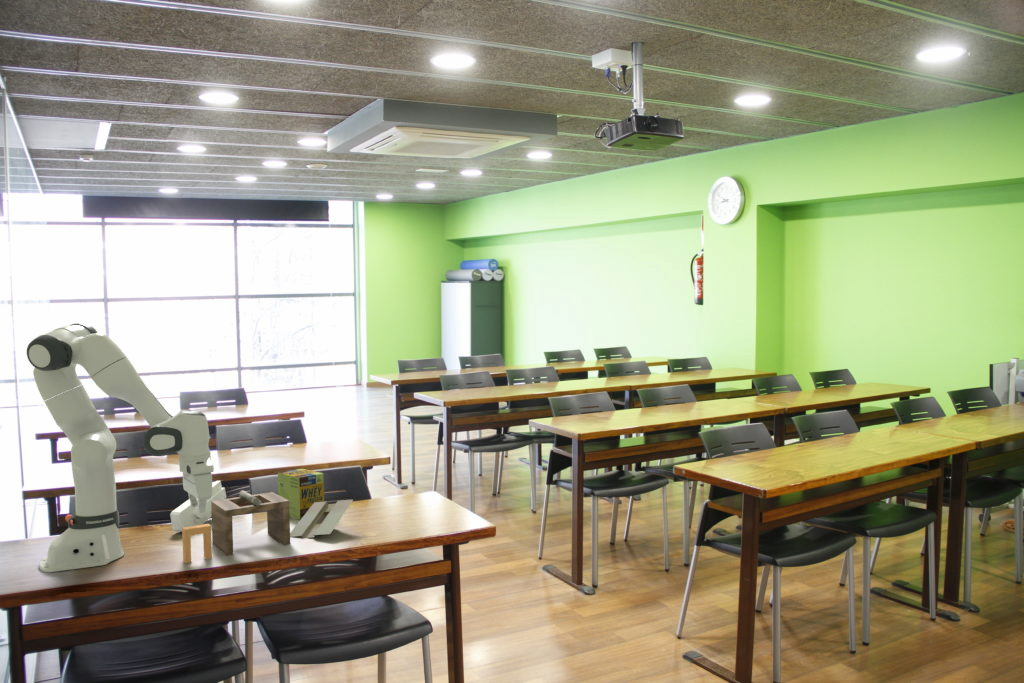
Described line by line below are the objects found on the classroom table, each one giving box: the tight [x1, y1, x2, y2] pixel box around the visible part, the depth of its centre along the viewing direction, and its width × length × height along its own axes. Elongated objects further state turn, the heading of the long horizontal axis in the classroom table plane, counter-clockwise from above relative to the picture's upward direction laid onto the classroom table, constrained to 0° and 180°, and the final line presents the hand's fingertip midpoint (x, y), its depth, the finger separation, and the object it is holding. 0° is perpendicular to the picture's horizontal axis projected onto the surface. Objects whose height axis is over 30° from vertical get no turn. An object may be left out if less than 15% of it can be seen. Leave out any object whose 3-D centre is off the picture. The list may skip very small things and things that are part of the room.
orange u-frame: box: [181, 523, 213, 564], centre depth 234 cm, size 8×3×10 cm, turn 126°
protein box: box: [277, 468, 325, 521], centre depth 287 cm, size 10×15×16 cm
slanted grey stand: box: [290, 499, 354, 539], centre depth 263 cm, size 19×10×17 cm
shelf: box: [211, 490, 291, 557], centre depth 249 cm, size 20×16×16 cm
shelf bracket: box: [169, 480, 227, 532], centre depth 275 cm, size 6×27×14 cm, turn 168°
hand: (198, 509), depth 234 cm, fingers open, 8 cm apart
